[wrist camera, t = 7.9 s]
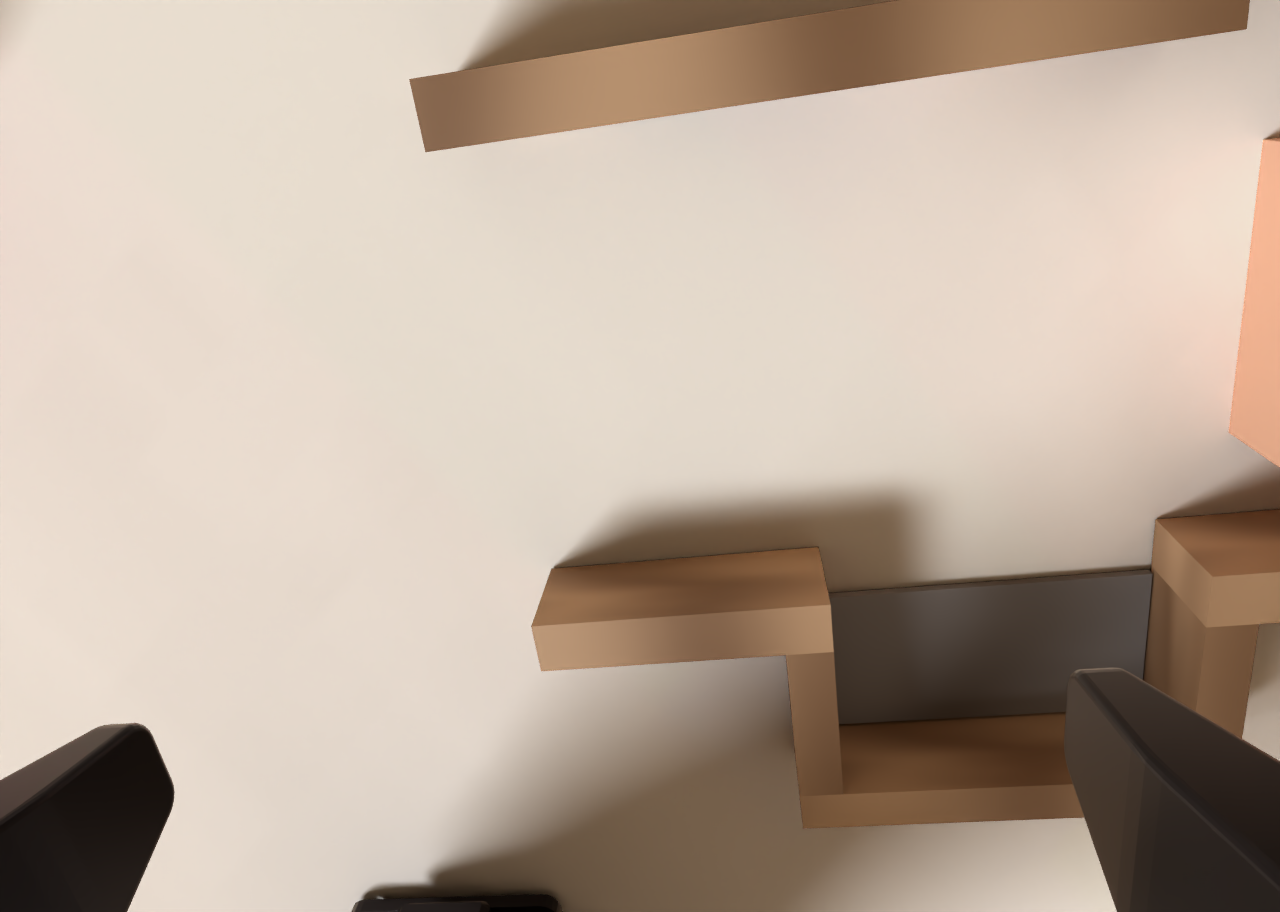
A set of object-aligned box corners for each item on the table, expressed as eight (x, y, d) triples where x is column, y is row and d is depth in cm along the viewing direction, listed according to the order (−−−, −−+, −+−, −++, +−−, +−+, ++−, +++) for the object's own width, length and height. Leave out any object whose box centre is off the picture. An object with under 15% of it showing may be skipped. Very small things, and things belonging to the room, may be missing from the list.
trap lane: (591, 765, 24) (572, 870, 21) (387, -225, 15) (300, -306, 12) (1544, 716, 21) (1695, 832, 18) (1942, -555, 12) (2368, -777, 9)
